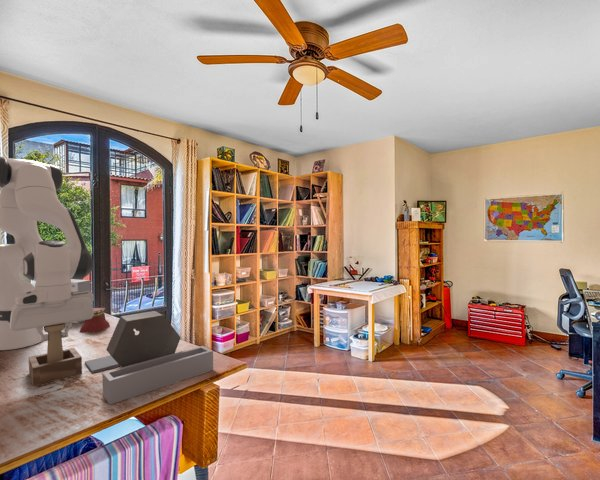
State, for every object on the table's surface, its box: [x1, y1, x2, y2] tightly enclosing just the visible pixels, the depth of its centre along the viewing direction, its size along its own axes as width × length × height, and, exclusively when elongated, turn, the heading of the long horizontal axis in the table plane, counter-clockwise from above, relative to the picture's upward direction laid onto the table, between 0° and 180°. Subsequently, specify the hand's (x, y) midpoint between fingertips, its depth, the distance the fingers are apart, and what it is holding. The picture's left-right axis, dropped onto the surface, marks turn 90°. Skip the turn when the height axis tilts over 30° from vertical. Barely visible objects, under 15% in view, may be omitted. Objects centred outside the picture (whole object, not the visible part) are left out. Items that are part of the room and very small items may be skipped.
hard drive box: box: [71, 279, 92, 324], centre depth 159 cm, size 16×8×20 cm, turn 73°
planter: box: [106, 310, 181, 368], centre depth 99 cm, size 17×8×21 cm
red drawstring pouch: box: [79, 307, 111, 333], centre depth 144 cm, size 9×9×9 cm
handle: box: [43, 323, 66, 363], centre depth 98 cm, size 5×6×15 cm
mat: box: [84, 354, 121, 374], centre depth 105 cm, size 10×10×1 cm
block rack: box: [101, 345, 214, 405], centre depth 92 cm, size 7×29×6 cm, turn 135°
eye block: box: [28, 347, 83, 387], centre depth 98 cm, size 12×12×5 cm
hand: (54, 338), depth 98 cm, fingers closed on handle, 3 cm apart
